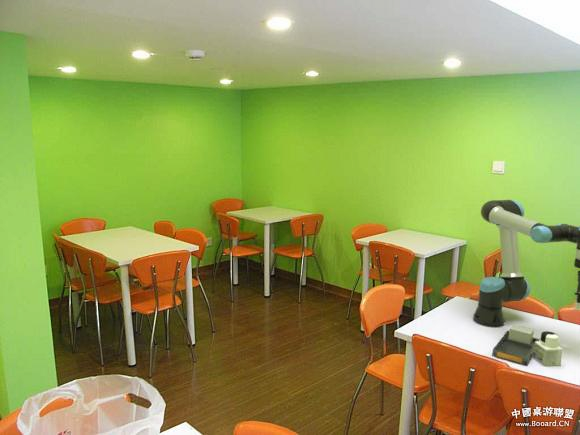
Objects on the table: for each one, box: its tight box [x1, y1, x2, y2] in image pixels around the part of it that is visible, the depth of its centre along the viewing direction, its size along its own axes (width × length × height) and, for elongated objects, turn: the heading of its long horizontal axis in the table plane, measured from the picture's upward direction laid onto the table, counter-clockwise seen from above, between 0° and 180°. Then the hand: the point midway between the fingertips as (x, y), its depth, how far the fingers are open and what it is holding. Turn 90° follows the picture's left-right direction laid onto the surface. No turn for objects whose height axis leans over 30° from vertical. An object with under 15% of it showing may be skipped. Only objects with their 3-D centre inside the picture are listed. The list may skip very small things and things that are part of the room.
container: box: [532, 331, 564, 367], centre depth 194 cm, size 8×8×13 cm
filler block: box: [508, 323, 535, 345], centre depth 210 cm, size 9×8×6 cm
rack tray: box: [492, 330, 541, 367], centre depth 205 cm, size 14×27×3 cm, turn 142°
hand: (578, 305), depth 201 cm, fingers open, 13 cm apart
